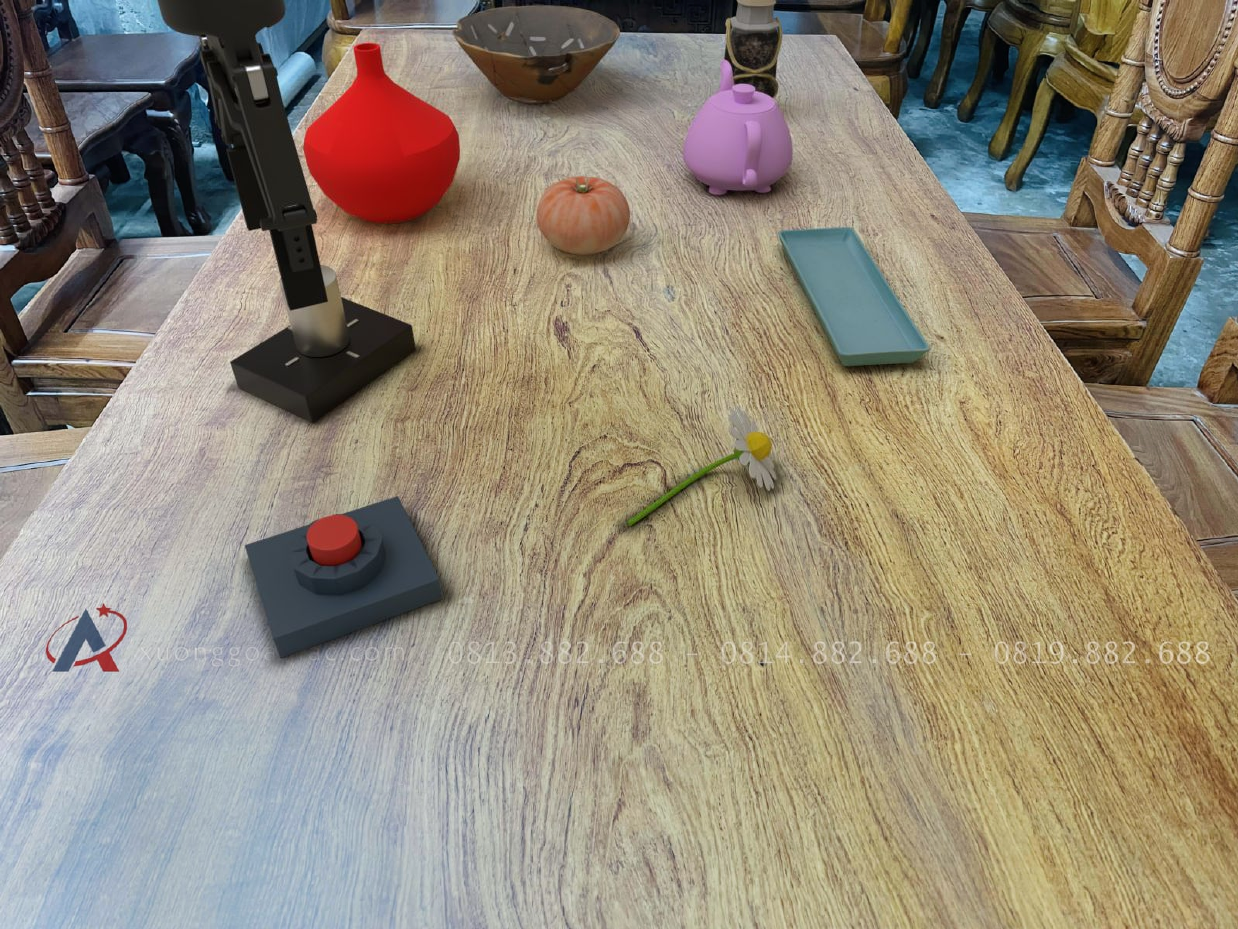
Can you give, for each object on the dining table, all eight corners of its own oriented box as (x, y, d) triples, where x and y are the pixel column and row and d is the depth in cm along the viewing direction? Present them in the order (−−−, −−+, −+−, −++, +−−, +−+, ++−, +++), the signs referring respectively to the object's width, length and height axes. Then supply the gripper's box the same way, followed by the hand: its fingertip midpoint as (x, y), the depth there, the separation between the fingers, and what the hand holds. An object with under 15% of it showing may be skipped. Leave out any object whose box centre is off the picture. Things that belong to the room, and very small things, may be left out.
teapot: (668, 148, 132) (673, 58, 124) (767, 144, 134) (777, 55, 126) (694, 213, 118) (701, 116, 110) (805, 208, 119) (820, 112, 111)
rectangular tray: (774, 245, 112) (776, 226, 110) (849, 242, 112) (853, 222, 111) (836, 375, 92) (840, 354, 91) (926, 370, 93) (932, 349, 91)
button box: (280, 658, 66) (266, 622, 64) (251, 564, 73) (238, 528, 70) (443, 598, 71) (436, 562, 68) (401, 515, 77) (394, 479, 75)
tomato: (567, 277, 106) (565, 211, 100) (521, 238, 112) (517, 174, 107) (647, 252, 110) (649, 188, 105) (598, 216, 117) (598, 153, 112)
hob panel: (312, 423, 86) (305, 395, 84) (237, 387, 90) (228, 360, 88) (416, 350, 95) (412, 323, 93) (344, 320, 99) (338, 294, 97)
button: (318, 573, 68) (313, 556, 66) (306, 540, 70) (301, 524, 69) (367, 556, 69) (363, 539, 68) (354, 525, 71) (350, 508, 70)
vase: (454, 242, 112) (434, 76, 99) (299, 239, 112) (260, 74, 99) (475, 175, 125) (460, 22, 113) (337, 173, 126) (307, 20, 113)
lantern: (769, 105, 145) (789, -79, 128) (779, 126, 139) (802, -65, 122) (712, 106, 144) (726, -79, 128) (720, 127, 138) (735, -65, 122)
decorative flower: (647, 468, 71) (770, 385, 79) (604, 482, 76) (723, 402, 84) (696, 557, 72) (813, 465, 80) (650, 565, 77) (764, 478, 85)
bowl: (638, 115, 141) (639, 46, 135) (474, 132, 136) (467, 61, 129) (594, 60, 159) (594, -4, 153) (448, 73, 154) (441, 7, 148)
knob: (360, 337, 91) (347, 270, 86) (323, 363, 88) (306, 295, 83) (323, 322, 93) (307, 255, 88) (284, 346, 90) (266, 279, 85)
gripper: (120, -81, 65) (203, 206, 79) (181, 15, 49) (273, 357, 63) (232, -90, 68) (293, 189, 82) (325, -3, 51) (383, 329, 65)
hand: (285, 262), depth 72 cm, fingers open, 13 cm apart
